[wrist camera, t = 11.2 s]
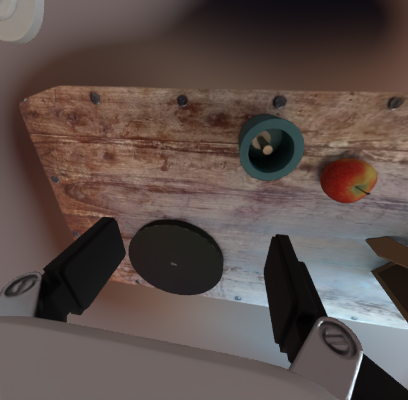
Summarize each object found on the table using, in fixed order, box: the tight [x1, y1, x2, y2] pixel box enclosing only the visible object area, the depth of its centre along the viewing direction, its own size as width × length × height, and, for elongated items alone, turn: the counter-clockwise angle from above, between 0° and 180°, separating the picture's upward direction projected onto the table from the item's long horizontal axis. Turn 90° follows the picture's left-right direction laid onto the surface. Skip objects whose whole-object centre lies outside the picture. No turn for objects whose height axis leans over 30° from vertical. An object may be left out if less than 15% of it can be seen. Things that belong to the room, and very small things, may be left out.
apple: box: [320, 158, 377, 203], centre depth 33 cm, size 8×8×10 cm
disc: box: [129, 220, 223, 295], centre depth 56 cm, size 30×30×3 cm
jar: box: [239, 114, 304, 181], centre depth 31 cm, size 9×9×12 cm
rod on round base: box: [252, 130, 272, 155], centre depth 32 cm, size 4×4×10 cm
